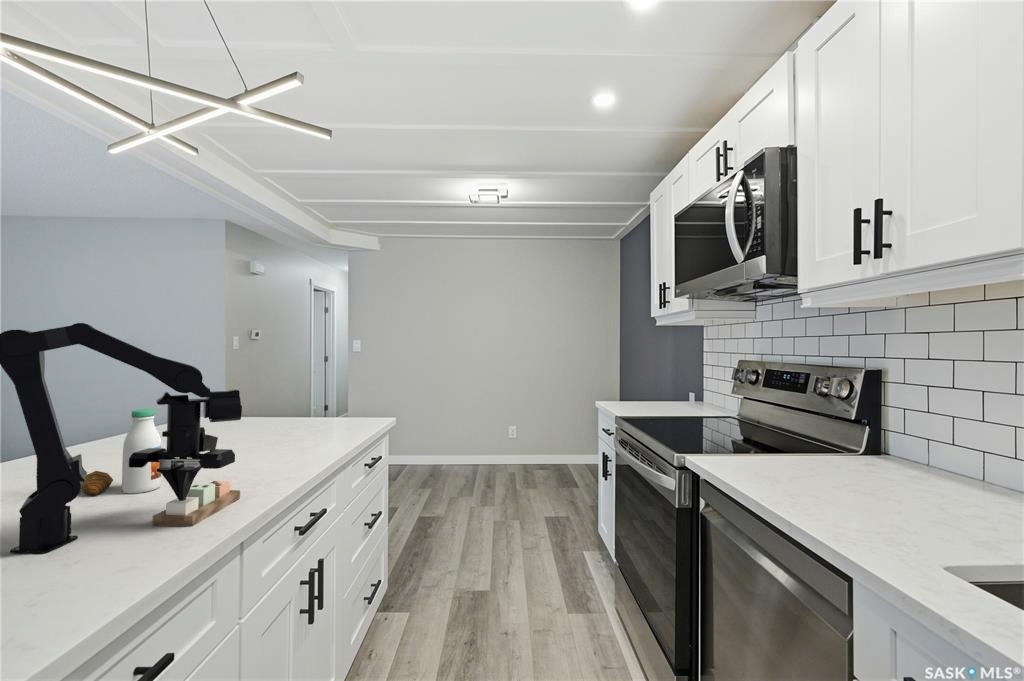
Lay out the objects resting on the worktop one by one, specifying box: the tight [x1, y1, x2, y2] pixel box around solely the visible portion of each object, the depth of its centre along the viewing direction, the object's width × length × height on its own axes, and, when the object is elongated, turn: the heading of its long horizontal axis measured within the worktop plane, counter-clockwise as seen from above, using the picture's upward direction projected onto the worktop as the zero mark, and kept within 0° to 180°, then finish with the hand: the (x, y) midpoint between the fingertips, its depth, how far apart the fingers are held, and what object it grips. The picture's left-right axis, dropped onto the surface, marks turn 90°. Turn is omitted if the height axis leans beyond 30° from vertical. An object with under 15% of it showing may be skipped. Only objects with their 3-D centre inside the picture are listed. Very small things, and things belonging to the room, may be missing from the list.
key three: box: [208, 480, 231, 497], centre depth 110 cm, size 4×4×4 cm
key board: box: [152, 489, 241, 527], centre depth 105 cm, size 17×8×2 cm, turn 0°
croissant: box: [81, 470, 114, 497], centre depth 118 cm, size 14×7×5 cm, turn 37°
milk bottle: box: [121, 408, 162, 494], centre depth 119 cm, size 8×8×20 cm
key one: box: [165, 497, 198, 515], centre depth 99 cm, size 4×4×4 cm
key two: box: [187, 483, 215, 506], centre depth 105 cm, size 4×4×4 cm
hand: (182, 499), depth 99 cm, fingers closed, pressing on key one
